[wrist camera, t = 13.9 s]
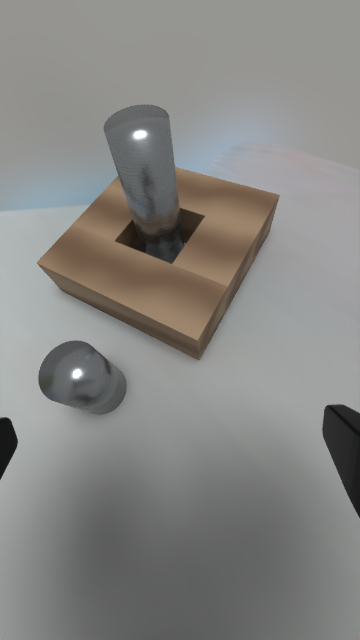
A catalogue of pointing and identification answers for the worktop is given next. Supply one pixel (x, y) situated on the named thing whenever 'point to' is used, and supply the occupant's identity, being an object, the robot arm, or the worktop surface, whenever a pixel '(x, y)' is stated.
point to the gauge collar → (157, 275)
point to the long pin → (148, 177)
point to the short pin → (81, 378)
